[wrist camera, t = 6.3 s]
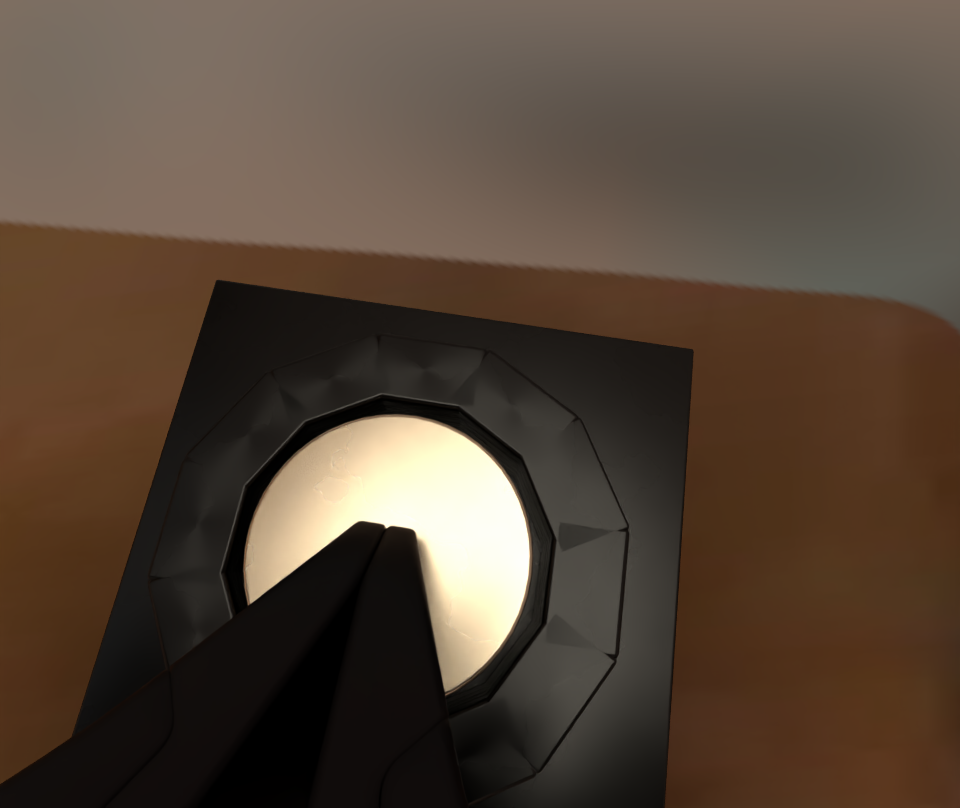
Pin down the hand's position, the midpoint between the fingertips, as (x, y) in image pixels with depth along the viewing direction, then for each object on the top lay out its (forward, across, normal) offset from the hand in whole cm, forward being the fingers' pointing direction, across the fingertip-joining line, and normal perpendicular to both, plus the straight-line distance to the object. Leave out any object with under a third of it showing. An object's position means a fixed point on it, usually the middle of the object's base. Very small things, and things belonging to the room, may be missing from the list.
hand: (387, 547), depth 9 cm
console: (+6, 0, +6) cm, 8 cm away
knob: (+2, 0, +2) cm, 2 cm away
